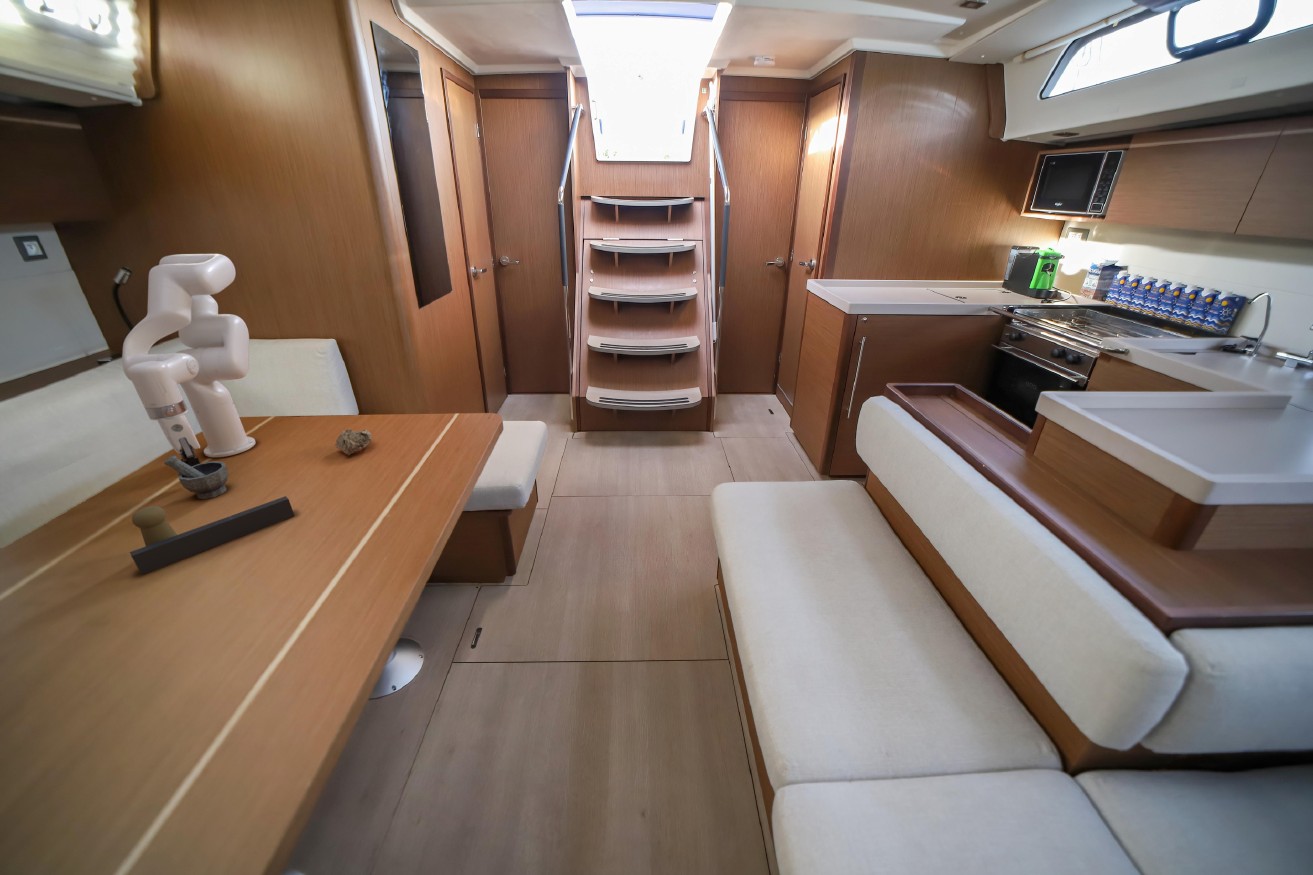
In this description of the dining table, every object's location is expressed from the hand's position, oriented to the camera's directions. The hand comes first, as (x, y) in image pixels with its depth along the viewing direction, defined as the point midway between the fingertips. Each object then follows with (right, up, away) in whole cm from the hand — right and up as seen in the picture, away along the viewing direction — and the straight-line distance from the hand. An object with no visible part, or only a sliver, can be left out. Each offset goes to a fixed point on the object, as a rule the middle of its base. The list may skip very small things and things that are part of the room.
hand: (195, 470), depth 137 cm
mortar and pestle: (+8, -6, -4) cm, 11 cm away
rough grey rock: (+33, +5, +19) cm, 38 cm away
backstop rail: (+27, -15, -22) cm, 38 cm away
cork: (+18, -16, -26) cm, 35 cm away
